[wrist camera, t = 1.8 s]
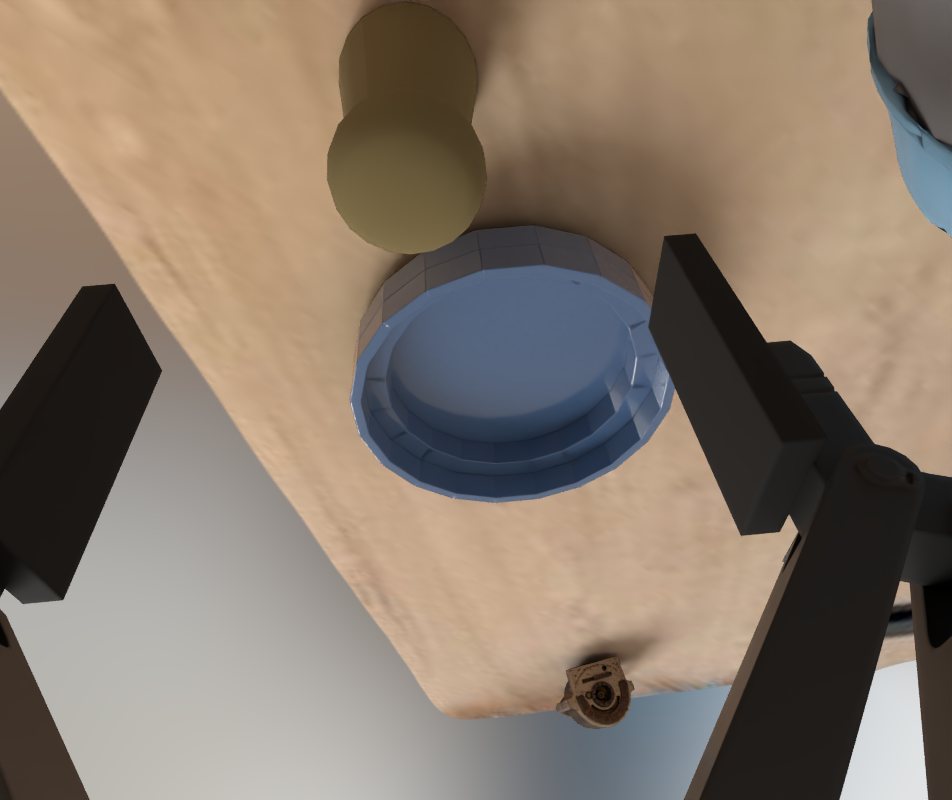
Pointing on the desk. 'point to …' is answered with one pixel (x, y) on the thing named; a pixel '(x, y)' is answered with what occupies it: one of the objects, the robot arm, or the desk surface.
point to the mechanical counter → (597, 694)
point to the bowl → (509, 366)
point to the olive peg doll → (407, 131)
